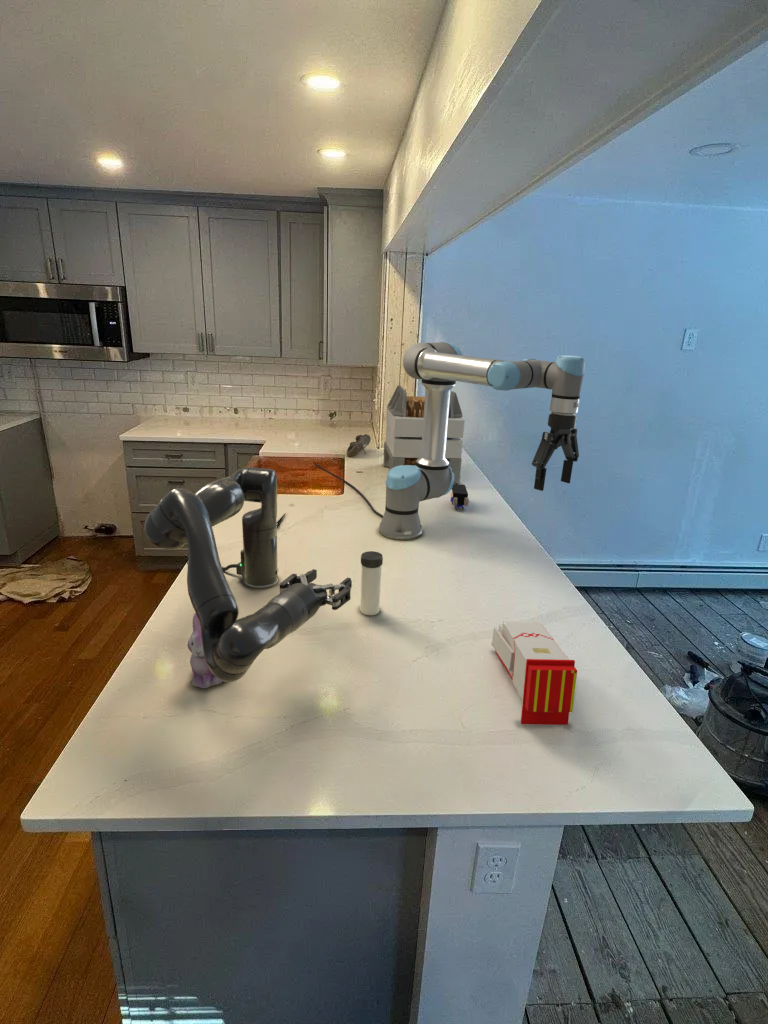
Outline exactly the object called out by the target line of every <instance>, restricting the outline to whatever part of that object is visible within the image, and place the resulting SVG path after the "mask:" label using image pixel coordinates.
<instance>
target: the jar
mask: <svg viewBox="0 0 768 1024" xmlns="http://www.w3.org/2000/svg"><path fill="white" fill-rule="evenodd" d="M381 580H382V565H381V566H380V567H377V568H368V567H365V566H363V565H362V564H361V575H360V605H359V607H360V609H359V611H360V613H361V614H363V615H364V616H365V615H366V616H374V615H375V616H376V615H377V614H379V612H380V606H381V605H380V603H381V585H382V584H381V583H382V581H381Z"/></svg>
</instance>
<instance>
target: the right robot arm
mask: <svg viewBox="0 0 768 1024" xmlns="http://www.w3.org/2000/svg"><path fill="white" fill-rule="evenodd" d="M585 365H586V360H585V358H584V357H582V356H578V355H566V354H565V355H564V354H563V355H558V356H557V357H556V360H555V361H549V360H541V359H536V358H524V359H521V360H506V359H505V360H504V359H503V360H502V359H496V358H487V357H479V356H471V355H464V354H463V352H462V350H461V349H460V347H459V346H457V345H456V344H455V343H451V342H445V341H443V342H442V341H441V342H440V341H439V342H438V341H437V342H417V343H414V344H412V345H411V346H409V347H408V348H407V350H406V351H405V353H404V355H403V358H402V366H403V369H404V372H405V373H406V374H407V375H408V376H409V377H411V378H412V379H415V380H421V385H422V386H423V387H424V389H425V392H424V397H425V404H424V419H423V434H422V449H421V457H420V458H418V459H417V461H416V466H413V465H401V466H396V467H394V468H392V469H390V468H389V470H388V472H387V474H386V479H385V504H384V505H385V507H384V508H385V509H384V513H383V514H381V513H380V512H378V511H377V510H376V509H375V508H374V507H373V505H372V504H371V502H370V501H369V500H368V498H367V497H366V496H365V495H364V494H363V493H362V492H361V491H360V490H359V489H358V488H357V487H356V486H354V485H353V484H351V483H350V482H348V481H347V480H345V479H344V478H342V477H340V476H338V475H336V474H334V473H333V472H331V471H329V470H327V469H325V468H324V467H322V466H321V465H319V464H317V463H314V464H313V465H314V466H316V467H317V468H319V469H320V470H322V471H324V472H325V473H327V474H329V475H331V476H333V477H335V478H337V479H338V480H340V481H341V482H343V483H345V484H346V485H348V486H349V487H350V488H352V489H353V490H355V491H356V493H358V494H359V495H360V496H361V497H362V499H363V500H364V501H365V502H366V504H367V505H368V506H369V508H371V510H372V512H373V513H375V514H376V515H377V516H379V517H381V518H382V519H381V522H379V526H378V533H379V534H380V535H381V536H382V537H385V538H387V539H389V540H395V541H410V540H415V539H418V538H420V537H421V536H422V535H423V525H422V524H421V518H420V515H419V507H420V506H419V505H420V502H423V501H427V500H431V499H437V498H440V497H443V496H446V495H448V493H450V492H451V491H452V487H453V484H455V483H454V473H452V469H451V467H450V466H449V462H448V461H447V459H446V458H445V453H446V441H447V428H448V416H449V404H450V392H451V391H452V389H453V388H454V387H455V386H456V384H457V382H461V383H465V384H473V385H479V386H487V387H491V388H492V389H494V390H496V391H503V392H504V391H511V390H520V389H532V388H533V389H534V388H539V389H546V390H551V398H550V404H549V413H548V418H547V419H548V420H547V426H548V427H549V428H550V431H549V432H548V431H543V432H542V435H541V440H540V442H539V445H538V447H537V449H536V452H535V454H534V457H533V460H532V461H531V466H533V467H535V475H534V477H535V478H534V485H533V489H534V490H537V491H539V492H543V491H544V489H545V484H546V483H545V482H546V476H547V468H546V466H547V465H548V463H549V461H550V459H551V457H552V456H553V454H554V453H555V451H556V450H557V449H558V448H560V447H561V449H562V452H563V455H564V458H565V459H563V463H562V468H561V469H562V470H561V475H560V482H562V483H566V484H571V478H572V472H573V466H574V463H576V462H578V461H579V457H580V453H579V444H578V428H576V423H577V419H578V416H577V414H578V412H579V411H578V410H579V406H580V397H581V391H582V385H583V380H584V376H585Z"/></svg>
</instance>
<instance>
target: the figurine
mask: <svg viewBox="0 0 768 1024" xmlns="http://www.w3.org/2000/svg"><path fill="white" fill-rule="evenodd" d="M187 649H188V650H189V652H190V653H191V656H190V659H189V664H190V667H191V671H192V675H193V677H192V683H191V684H192V686H194V687H198V688H201V689H207V688H210V687H213V686H217V685H220V684H222V683H223V682H224V681H222V680H220V679H218V678H217V677H215V676H214V675H213V674H212V672H211V671H210V669H209V668H208V666H207V663H206V660H205V656H204V651H203V644H202V638H201V627H200V622H199V620H198V617H197V615H196V613H195V612H194V614H193V616H192V632H191V634H190V636H189V639H188V640H187Z"/></svg>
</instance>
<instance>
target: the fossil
mask: <svg viewBox="0 0 768 1024" xmlns="http://www.w3.org/2000/svg"><path fill="white" fill-rule="evenodd" d="M354 440H355V441H351V442H350V443H349V446H348V447H347V450H346V456H347V457H348V458H352V457H355V456H357V455H359V454H360V453H361V452H363V453H364V454H366V452H365V449H366V448H367V446H369V445H370V443H371V440H372V439H371V436H370V434H367V433H365V434H358V435H356V436H355V438H354Z"/></svg>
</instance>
